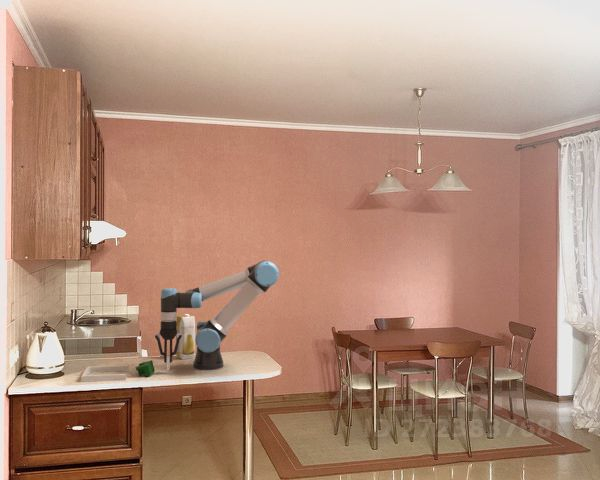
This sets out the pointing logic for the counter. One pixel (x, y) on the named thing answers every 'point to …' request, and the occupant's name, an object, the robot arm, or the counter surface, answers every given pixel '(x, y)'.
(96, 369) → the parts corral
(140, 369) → the green lumpy piece
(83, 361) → the counter surface
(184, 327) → the juice carton
